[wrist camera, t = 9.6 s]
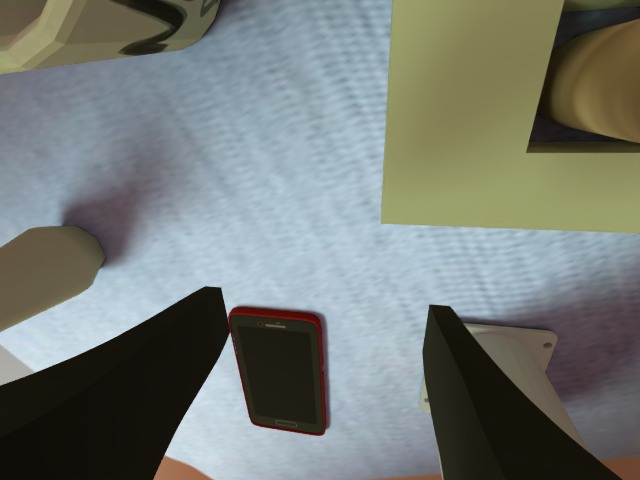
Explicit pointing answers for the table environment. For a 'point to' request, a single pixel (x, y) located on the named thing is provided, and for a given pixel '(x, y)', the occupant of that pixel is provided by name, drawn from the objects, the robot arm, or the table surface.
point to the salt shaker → (45, 270)
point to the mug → (96, 30)
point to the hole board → (492, 125)
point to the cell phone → (280, 368)
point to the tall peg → (596, 82)
